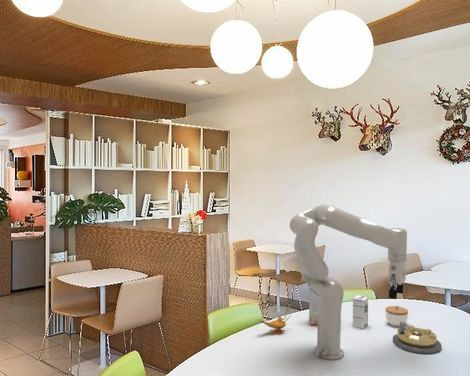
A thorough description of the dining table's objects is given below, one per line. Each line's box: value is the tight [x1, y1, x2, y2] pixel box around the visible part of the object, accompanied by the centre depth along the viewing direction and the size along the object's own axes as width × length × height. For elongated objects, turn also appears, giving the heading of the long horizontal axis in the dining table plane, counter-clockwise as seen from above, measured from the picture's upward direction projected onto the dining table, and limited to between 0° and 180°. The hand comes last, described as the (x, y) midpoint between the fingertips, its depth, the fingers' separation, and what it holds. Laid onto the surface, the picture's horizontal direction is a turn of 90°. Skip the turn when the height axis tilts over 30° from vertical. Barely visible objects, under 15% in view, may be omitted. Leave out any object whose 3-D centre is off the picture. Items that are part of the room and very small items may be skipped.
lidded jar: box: [385, 305, 409, 328], centre depth 220 cm, size 11×11×9 cm
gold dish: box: [397, 322, 438, 348], centre depth 195 cm, size 16×16×8 cm
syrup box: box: [352, 295, 369, 330], centre depth 217 cm, size 6×6×14 cm
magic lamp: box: [259, 306, 292, 335], centre depth 208 cm, size 7×18×11 cm, turn 122°
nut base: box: [392, 333, 442, 355], centre depth 196 cm, size 20×20×2 cm
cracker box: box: [308, 286, 320, 326], centre depth 219 cm, size 14×6×21 cm, turn 84°
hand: (395, 295), depth 192 cm, fingers open, 9 cm apart
